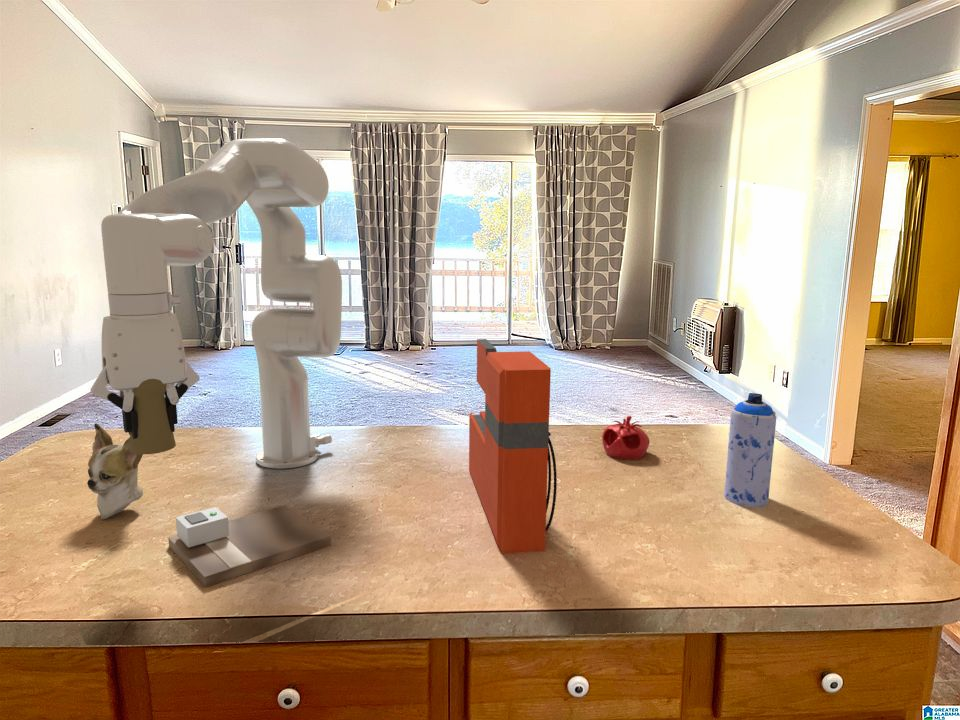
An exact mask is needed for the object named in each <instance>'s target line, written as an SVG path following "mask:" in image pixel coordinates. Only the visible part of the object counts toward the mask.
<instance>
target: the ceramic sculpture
mask: <svg viewBox="0 0 960 720" xmlns="http://www.w3.org/2000/svg"><path fill="white" fill-rule="evenodd" d="M93 425H94V430H95V432H96V433H95V436H94V442H93V444H92V455H91V456H90V458H89V460H88V463H87V467H88V469H87V473H88V476H89V479H88V480H87V487H88V489H90V491H91V492H93V493H94V494H97V498H96V503H97V504H96V505H97V509H98V513H99V514H100V519H101V520H106V519H108V518H110V517H113V516H115V515H116V514H118V513H121V512H122V511H123V510H125V509H127V507H129V506H130V505H131V504H132V503H134V502H135V501H138V500H140V499H141V498H142V497H143V495H144V490H143V488H141V487H140V486H139V484H138V482H139V481H138V480H139V479H138V478H139V476H138V473H139V472H138V470H139V469H138V468H139V463H141V460H142V458H143V456H144V454H142V455H141V454H134V453H131V452H130V451H129V450H130V436H129V438H128V437H127V439H126V440H125V441H124V442H123V444H114V443H113V439H112V438H113V437H111V435H110V434H109V433H108V432H107V431H106V429H104V428H103V427H102V426H101V425H100V424H99V423H96V422H95V423H94V424H93Z"/></svg>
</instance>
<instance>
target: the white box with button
mask: <svg viewBox="0 0 960 720" xmlns="http://www.w3.org/2000/svg"><path fill="white" fill-rule="evenodd" d="M228 521H229V516H227V515H226V514H225V513H224V512H223V511H221V510H220V509H219V508H218V507H217V506H214V507H211V508H206V509H203V510H198V511H194V512H191V513H188V514H183V515H180V516H176V517H175V523H176V535H177V536H178V537H179V538H180V539H181V540H182V541H183V542H184V543H185V544H186V545H187V547H188V548H189V547H192V546H196V545H199V544H203V543H206V542H209V541H213V540H216V539H220V538H223V537H227V536H229V523H228Z"/></svg>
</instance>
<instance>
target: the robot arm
mask: <svg viewBox="0 0 960 720" xmlns="http://www.w3.org/2000/svg"><path fill="white" fill-rule="evenodd" d="M329 188H330V187H329V179H328V175H327V172H326V171H325V169H324V168H323V166H322V165H321V164H320V162H319V161H318V160H316V159H315V158H314V157H312V156H311V155H310V154H308V153H307V152H306V151H305V150H303V149H302V148H301V147H299V146H298V145H297V144H295V143H293V142H291V141H288V140H286V139H284V138H236V139H233V140H230V141H228V142H226V143H225V144H223V145H222V146H221V147H220V148H219V149H218V150H217V151H216V152H215V153H214V154H212V155H211V156H210V157H209V158H208V159H207V160H205V162H204V163H203V164H202V165H200V166H199V167H198V169H196V170H195V171H194V172H192V173H190V174H188V175H185V176H181V177H178V178H177V179H174V180H172V181H169V182H167V183H165V184H162V185H158V186H157V187H154V188H152V189H150V190H147V191H145V192H143V193H141V194H140V195H138V196H136V197H135V198H133V199H131V201H129V203H127V204H126V205H125V206H124V207H123V208H121V209H120V211H119V212H117V213H114V214H109V215H106V216H105V217H104V218H103V219H102V220H101V223H100V224H101V225H100V229H101V239H102V240H101V241H102V251H103V260H104V269H105V279H106V288H107V300H108V306H109V307H108V308H109V315H107V316H104V317H103V319H102V326H101V365H102V366H101V368H102V369H101V371H100V373H99V375H98V376H97V378H96V380H95V381H94V383H93V385H91V388H90V392H91V394H92V395H94V396H96V397H97V398H101V399H103V400H107V401H109V402H110V403H112V404H113V405H115V406H116V407H118V409H121V414H122V423H123V425H122V426H123V431H124V432H125V434H126V433H128V435H129V436H130V432H131V434H132V438H133V439H136V438H138V432H137V431H138V417H137V411H135V410H134V406H133V398H134V393H133V389H135V388H137V387H139V385H140V384H141V383H142V382H143V381H145V380H148V379H157V380H160V381H161V382H162V383H163V384H165V385H167V387H166V392H165V394H164V396H165V400H166V405H167V406H166V408H167V415H168V421H169V425H170V429H171V432H173V433H175V431H176V430H175V425H177V424H178V411H177V410H178V409H177V405H178V404H179V402H180V399H181V398H182V397H183V396H184V394H186V392H187V391H188V390H189V389H191V388H192V387H193V386H194V385H195V384H196V383H198V382H199V381H200V376H199V374H198V373H197V372H196V371H195V370H194V369H193V368H192V366H191V365H190V364H189V363H188V362H187V358H186V353H185V352H186V351H185V346H184V342H183V337H182V331H181V329H180V324H179V320H178V317H177V314H176V313H174V312H171V311H173V307H175V306H177V305H181V303H182V299H181V296H180V295H175V294H172V293H171V292H170V288H169V287H170V286H169V276H168V275H169V274H168V267H192V266H196V265H198V264H201V263H203V262H204V261H205V260H206V259H208V258H209V256H210V254H211V253H212V250H213V246H214V238H213V237H214V236H213V233H212V231H211V229H210V227H209V225H208V224H210V223H214V222H218V221H221V220H224V219H227V218H229V217H231V216H233V215H234V214H236V212H237V211H238V210H239V208H240V207H242V205H243V203H244V202H245V201H246V202H247V204H248V205H249V207H250V209H251V211H252V212H253V214H254V215H255V217H256V219H257V222H258V225H259V228H260V235H261V253H260V255H261V257H260V259H261V260H260V265H261V266H260V283H261V291H262V294H263V295H264V297H265V298H267V299H268V300H270V301H274V302H275V301H276V302H282V303H283V302H284V303H309V304H312V307H313V309H301V308H271V309H266V310H262V311H260V312H259V313H258V314H257V315H256V316H255V317H254V318H253V321H252V324H251V338H252V344H253V347H254V350H255V354H256V360H257V366H258V367H257V368H258V376H259V377H258V378H259V393H260V412H261V430H262V432H261V433H262V445H263V446H262V447H263V448H262V450H260V451H259V452H258V453H257V454H256V456H255V461H256V464H258V466H261V467H264V468H267V469H277V470H278V469H284V470H285V469H293V468H299V467H303V466H306V465H310V464H312V463H314V462H315V461H316V460H317V459H318V458H319V450H318V449H317V448H319V447H320V446H321V445H328V444H331V443H333V438H332V435H331V434H325V435H320V433H317V434H311V425H310V424H311V423H310V422H311V421H310V418H311V417H310V399H309V395H310V393H309V377H308V373H307V371H306V369H305V366H304V365H303V363H302V362H301V360H300V359H299V358H298V357H300V358H301V357H302V358H328V357H332V356H334V355H335V354H336V353H337V351H338V350H339V347H340V343H341V338H342V337H341V335H342V304H343V301H342V300H343V280H342V279H343V277H342V273H341V270H340V266H339V264H338V263H337V262H336V261H335V259H334V258H333V257H331V256H327V255H322V254H307V253H306V230H305V226H304V224H303V223H302V221H301V219H300V217H298V215H297V214H296V213H295V211H294V210H293V209H292V208H313V207H314V208H315V207H319V206H320V205H322V204H323V203H324V202H325V200H326V199H327V198H328V194H329ZM108 385H109V386H110V388H111V389H114V390H116V391H118V392H119V395H118V394H117V393H116V392H115V391H112V390H109V389H107V386H108Z"/></svg>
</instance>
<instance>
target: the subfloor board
mask: <svg viewBox="0 0 960 720" xmlns="http://www.w3.org/2000/svg"><path fill="white" fill-rule="evenodd" d="M228 523H229V536H227V537H223V538H220V539H216V540H213V541H209V542H206V543H203V544H199V545H196V546H192V547H189V548H188V547H187V545H186V544H185V543H184V542H183V541H182V540H181V539H180V538H179V537H178V536H177V534H175V535H172V536H168V537H167V539H168V547H169V548H170V550H172V551H173V553H174V554H175V555H176V556H177V557H178V558H179V559H180V560H181V562H182V563H183V564H185V566H186V568H188V569H189V570H190V572H192V574H193V575H194V576H195V577H196V579H198V580H199V582H200V583H201V584H202V585H203V587H205V588H207V587H209V586H212V585H216V584H219V583H222V582H224V581H228V580H231V579H234V578H236V577H240V576H242V575H245V574H250V573H252V572H254V571H258V570H260V569H264V568H266V567H270V566H272V565H275V564H279V563H281V562H284V561H287V560H290V559H293V558H296V557H300V556H302V555H305V554H308V553H311V552H314V551H316V550H320V549H323V548H327V547H329V546H331V545H332V541H331V540H332V539H331V538H332V537H331V535H330V534H329V533H327V532H326V531H324V530H322V529H321V528H320V527H318V525H317V526H316V525H315V524H314V523H312V522H311V521H310V520H309V519H307V518H305V517H304V516H302V515H301V514H300V513H298V512H296V510H294V509H292V508H291V507H289V506H288V505H287V504H283V505H279V506H275V507H273V508H268V509H264V510H262V511H258V512H253V513H251V514H247V515H244V516H241V517H237V518H233V519H228Z"/></svg>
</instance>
